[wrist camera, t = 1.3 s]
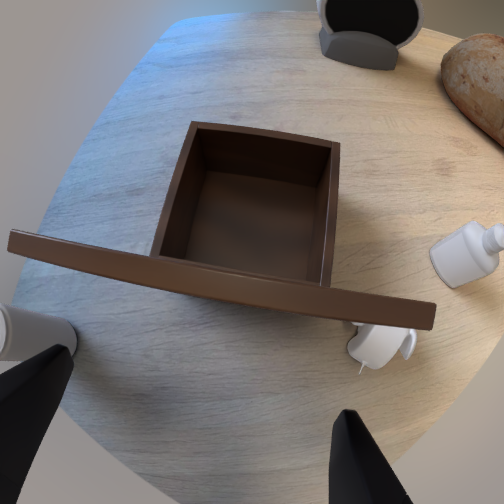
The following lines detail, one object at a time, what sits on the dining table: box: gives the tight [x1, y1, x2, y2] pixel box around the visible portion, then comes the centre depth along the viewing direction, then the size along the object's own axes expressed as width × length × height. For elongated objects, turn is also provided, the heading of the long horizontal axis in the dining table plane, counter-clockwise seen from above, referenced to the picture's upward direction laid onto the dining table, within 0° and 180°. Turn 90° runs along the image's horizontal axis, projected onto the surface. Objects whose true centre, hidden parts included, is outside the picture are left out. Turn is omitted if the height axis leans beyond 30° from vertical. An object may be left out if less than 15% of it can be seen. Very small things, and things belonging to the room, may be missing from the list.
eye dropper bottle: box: [430, 221, 504, 288], centre depth 26 cm, size 4×6×12 cm
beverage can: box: [0, 303, 77, 361], centre depth 23 cm, size 5×5×12 cm
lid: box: [7, 229, 436, 331], centre depth 15 cm, size 14×14×1 cm
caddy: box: [149, 121, 340, 288], centre depth 28 cm, size 14×14×8 cm
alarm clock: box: [316, 0, 424, 70], centre depth 33 cm, size 16×10×18 cm, turn 86°
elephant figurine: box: [347, 322, 417, 374], centre depth 26 cm, size 7×8×6 cm
